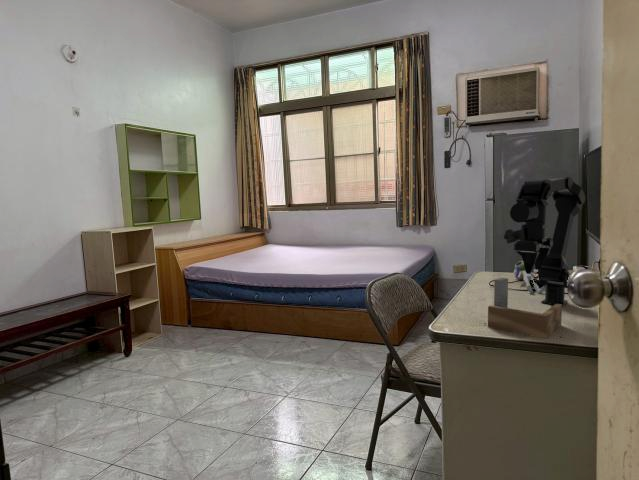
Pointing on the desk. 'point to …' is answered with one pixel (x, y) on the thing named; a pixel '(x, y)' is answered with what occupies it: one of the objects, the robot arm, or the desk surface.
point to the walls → (525, 320)
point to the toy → (526, 277)
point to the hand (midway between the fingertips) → (532, 271)
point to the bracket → (501, 292)
